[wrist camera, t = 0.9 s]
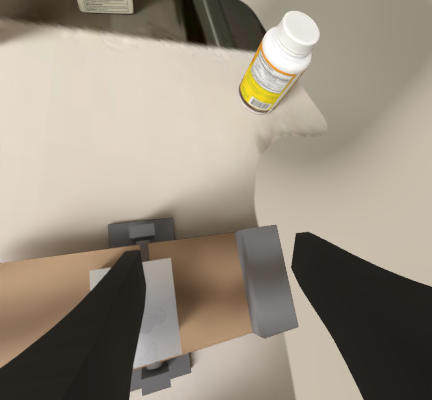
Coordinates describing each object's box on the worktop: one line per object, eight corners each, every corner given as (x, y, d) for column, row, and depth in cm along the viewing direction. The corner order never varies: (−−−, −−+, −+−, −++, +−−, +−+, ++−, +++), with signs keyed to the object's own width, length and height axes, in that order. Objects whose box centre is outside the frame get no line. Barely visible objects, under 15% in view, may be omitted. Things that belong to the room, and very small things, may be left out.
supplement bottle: (263, 77, 33) (310, 1, 24) (281, 111, 32) (337, 47, 23) (229, 84, 31) (265, 5, 22) (247, 120, 30) (293, 55, 21)
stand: (189, 369, 21) (199, 391, 18) (119, 391, 20) (112, 421, 16) (171, 218, 25) (176, 210, 21) (108, 225, 23) (101, 217, 19)
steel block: (172, 336, 19) (181, 353, 15) (102, 356, 17) (93, 380, 13) (163, 259, 20) (170, 257, 16) (98, 269, 18) (89, 270, 15)
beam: (286, 320, 24) (308, 327, 21) (-72, 434, 14) (-122, 476, 11) (266, 225, 26) (284, 220, 23) (-57, 267, 16) (-96, 267, 13)
